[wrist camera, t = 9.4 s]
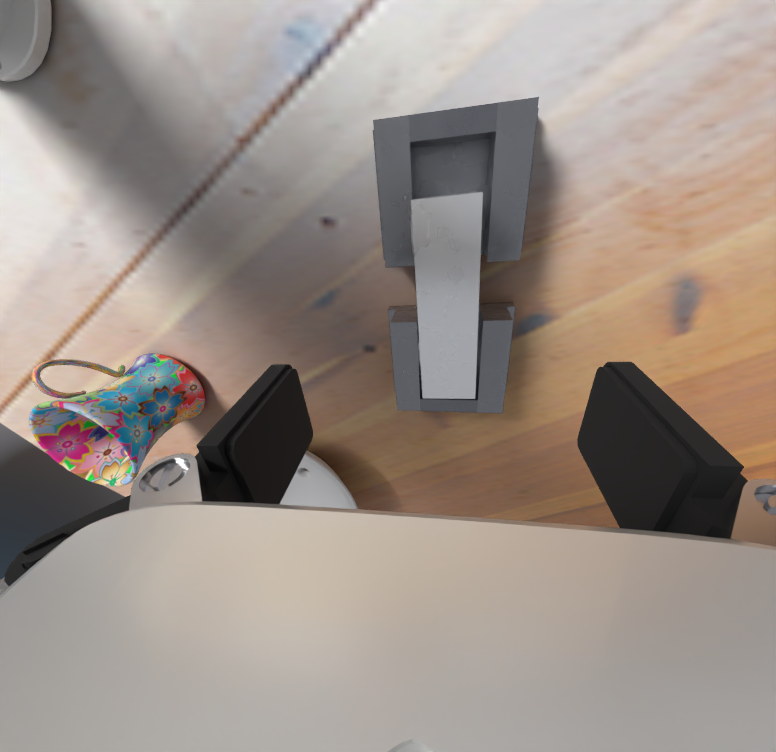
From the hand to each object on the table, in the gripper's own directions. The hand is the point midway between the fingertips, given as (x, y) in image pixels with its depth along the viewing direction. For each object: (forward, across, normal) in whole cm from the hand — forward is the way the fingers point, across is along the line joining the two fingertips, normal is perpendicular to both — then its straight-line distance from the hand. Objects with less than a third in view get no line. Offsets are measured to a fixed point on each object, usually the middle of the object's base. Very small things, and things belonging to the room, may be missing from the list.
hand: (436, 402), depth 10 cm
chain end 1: (+18, -1, -5) cm, 19 cm away
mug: (+18, +30, +10) cm, 37 cm away
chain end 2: (+18, -1, +7) cm, 19 cm away
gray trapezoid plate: (+17, -1, +1) cm, 17 cm away
